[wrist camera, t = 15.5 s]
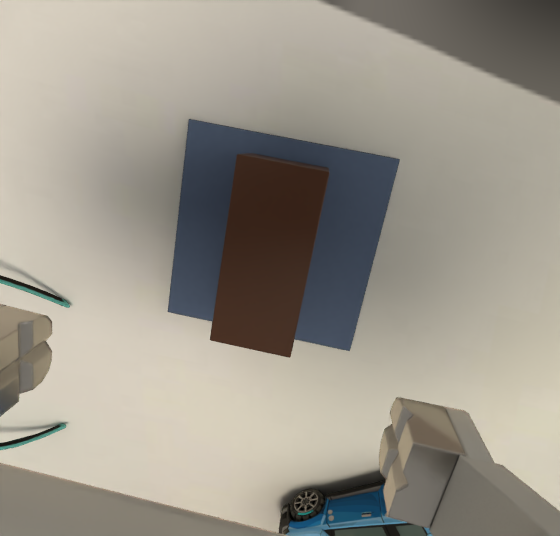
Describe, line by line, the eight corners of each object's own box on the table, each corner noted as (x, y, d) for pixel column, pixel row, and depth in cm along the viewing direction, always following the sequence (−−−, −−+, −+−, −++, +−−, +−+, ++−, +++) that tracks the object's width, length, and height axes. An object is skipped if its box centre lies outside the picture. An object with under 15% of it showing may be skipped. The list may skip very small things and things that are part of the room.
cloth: (190, 119, 24) (188, 119, 23) (399, 159, 23) (399, 159, 23) (169, 310, 27) (167, 312, 27) (349, 349, 26) (349, 351, 26)
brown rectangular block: (251, 152, 23) (236, 153, 20) (329, 167, 23) (329, 171, 19) (226, 312, 26) (209, 340, 22) (295, 327, 26) (290, 358, 22)
